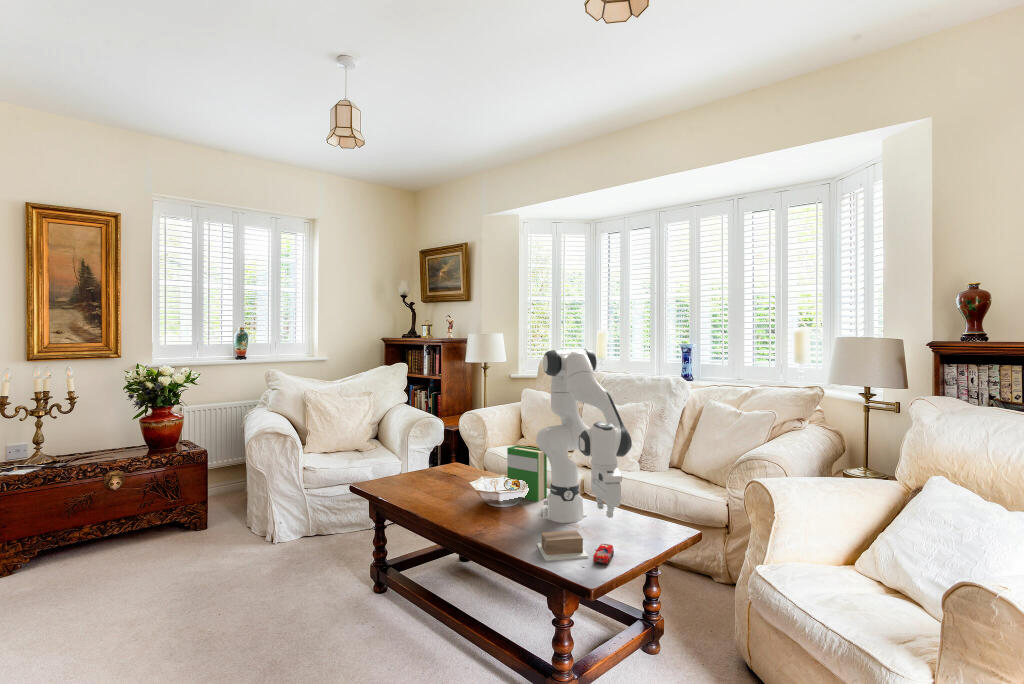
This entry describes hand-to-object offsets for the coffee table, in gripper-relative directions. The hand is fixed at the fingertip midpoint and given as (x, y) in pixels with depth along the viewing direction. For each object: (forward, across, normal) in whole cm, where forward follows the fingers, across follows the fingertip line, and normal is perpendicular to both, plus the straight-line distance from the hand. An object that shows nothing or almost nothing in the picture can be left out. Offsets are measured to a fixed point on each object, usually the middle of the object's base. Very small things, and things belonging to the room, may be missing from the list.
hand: (604, 512), depth 180 cm
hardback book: (+16, -76, -13) cm, 78 cm away
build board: (+17, -12, -12) cm, 24 cm away
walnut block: (+16, -12, -12) cm, 23 cm away
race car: (+19, 0, 0) cm, 19 cm away
